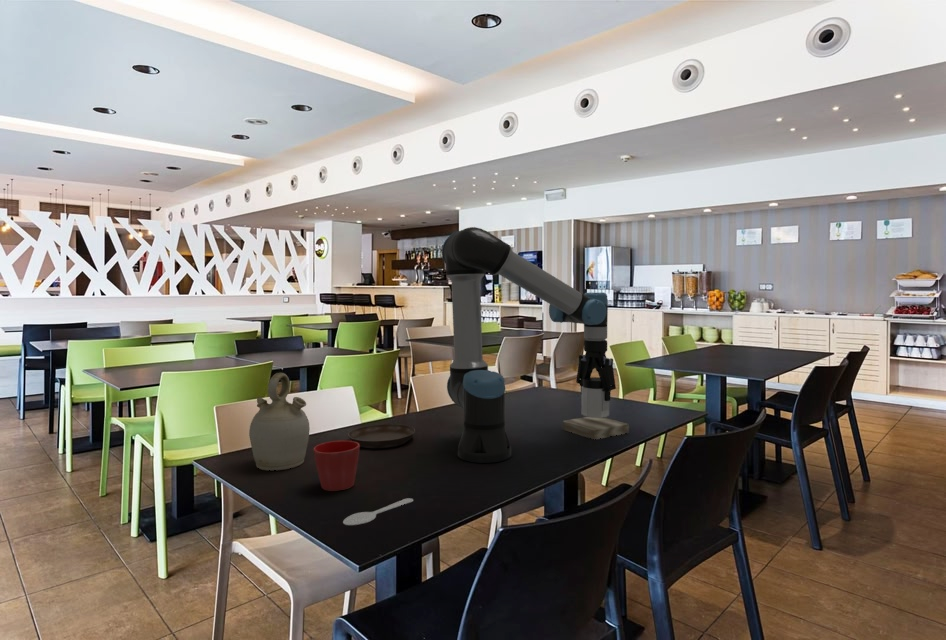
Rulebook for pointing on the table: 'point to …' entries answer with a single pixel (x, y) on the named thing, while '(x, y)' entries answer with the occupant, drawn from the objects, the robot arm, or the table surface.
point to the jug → (279, 429)
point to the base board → (595, 427)
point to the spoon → (372, 513)
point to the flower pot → (337, 464)
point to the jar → (592, 398)
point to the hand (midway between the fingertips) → (595, 408)
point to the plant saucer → (382, 435)
